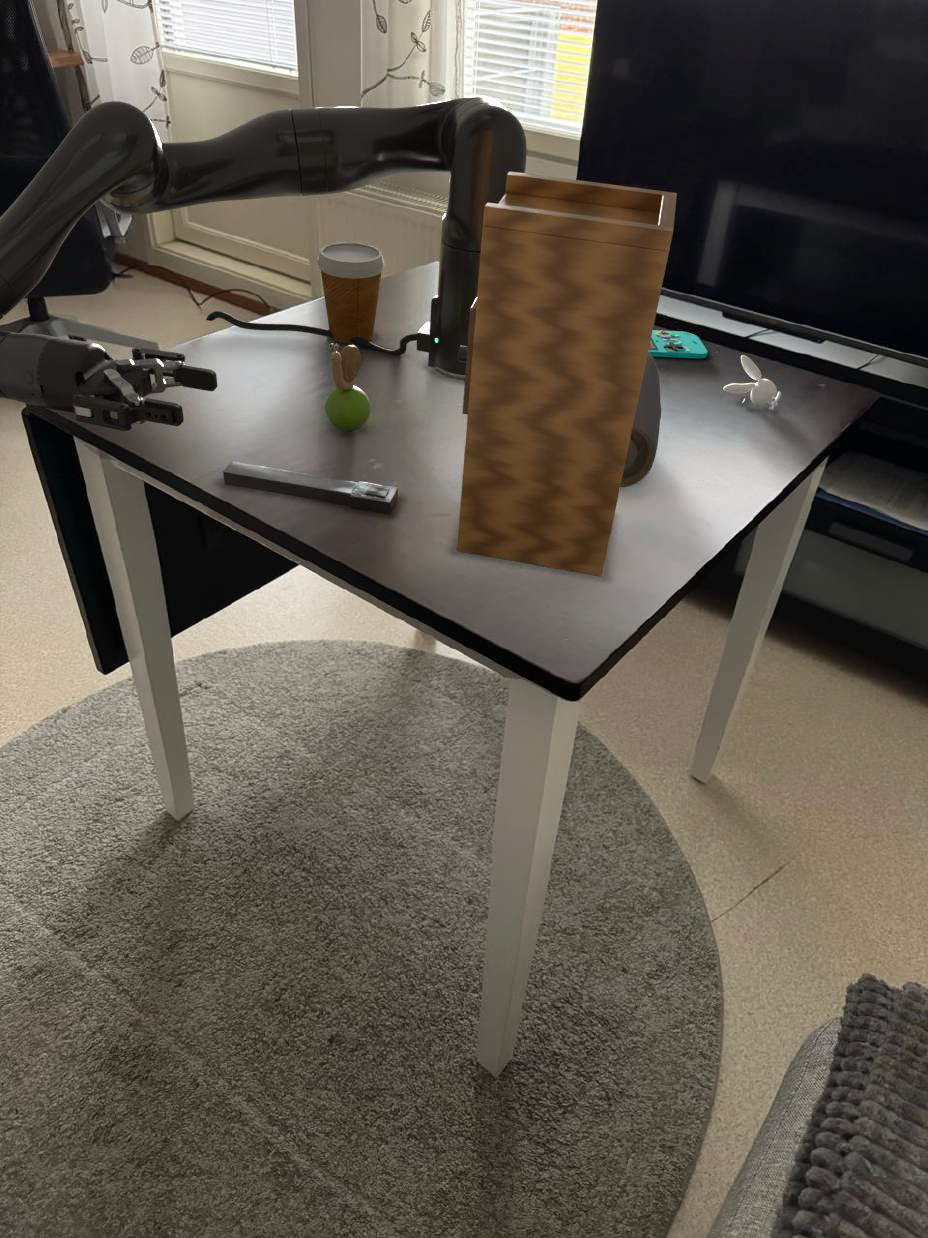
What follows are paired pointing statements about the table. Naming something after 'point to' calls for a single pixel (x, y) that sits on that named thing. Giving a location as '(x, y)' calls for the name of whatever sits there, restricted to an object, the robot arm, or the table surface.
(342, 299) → the disposable coffee cup
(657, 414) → the bluetooth speaker
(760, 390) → the rabbit figurine
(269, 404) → the table surface
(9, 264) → the robot arm
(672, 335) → the handheld gaming console
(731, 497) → the table surface
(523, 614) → the table surface
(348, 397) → the snail figurine
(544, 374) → the zigzag wood box
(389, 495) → the bottle opener
